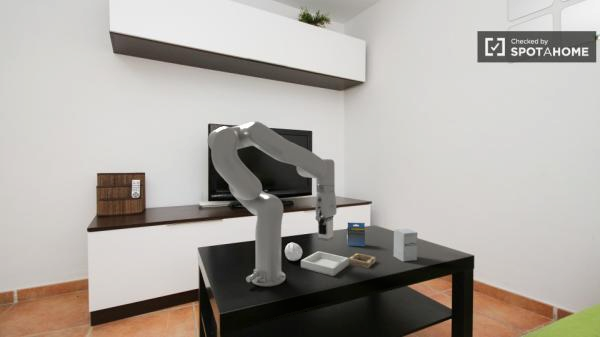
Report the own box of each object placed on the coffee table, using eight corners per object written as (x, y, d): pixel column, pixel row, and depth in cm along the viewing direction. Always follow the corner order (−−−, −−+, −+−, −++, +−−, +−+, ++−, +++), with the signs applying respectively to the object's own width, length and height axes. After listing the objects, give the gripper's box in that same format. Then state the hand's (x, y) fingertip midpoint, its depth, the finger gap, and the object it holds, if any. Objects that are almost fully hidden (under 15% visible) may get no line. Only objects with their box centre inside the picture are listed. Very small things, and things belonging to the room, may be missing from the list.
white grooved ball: (295, 264, 115) (295, 246, 115) (281, 261, 119) (281, 243, 119) (305, 259, 122) (305, 241, 122) (291, 255, 126) (291, 239, 126)
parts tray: (333, 276, 104) (333, 268, 104) (300, 267, 112) (300, 260, 112) (348, 264, 115) (348, 257, 115) (318, 257, 124) (318, 251, 124)
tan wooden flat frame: (368, 268, 112) (368, 263, 112) (348, 263, 117) (348, 258, 117) (375, 261, 119) (375, 256, 119) (356, 257, 124) (356, 252, 124)
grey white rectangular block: (327, 241, 110) (327, 219, 110) (318, 239, 113) (318, 217, 113) (333, 238, 114) (333, 217, 114) (323, 236, 117) (323, 215, 116)
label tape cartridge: (363, 244, 144) (364, 221, 143) (364, 246, 140) (365, 222, 139) (346, 243, 145) (347, 220, 144) (347, 246, 141) (347, 222, 140)
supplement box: (403, 262, 119) (403, 233, 118) (393, 256, 126) (393, 229, 125) (417, 260, 121) (418, 232, 120) (406, 254, 128) (407, 228, 127)
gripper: (323, 191, 104) (323, 239, 104) (342, 187, 118) (342, 229, 118) (306, 190, 108) (307, 236, 109) (327, 186, 122) (327, 227, 122)
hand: (325, 232), depth 113 cm, fingers closed on grey white rectangular block, 4 cm apart
